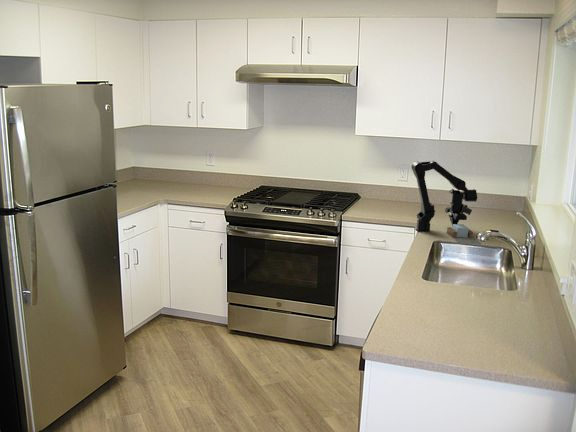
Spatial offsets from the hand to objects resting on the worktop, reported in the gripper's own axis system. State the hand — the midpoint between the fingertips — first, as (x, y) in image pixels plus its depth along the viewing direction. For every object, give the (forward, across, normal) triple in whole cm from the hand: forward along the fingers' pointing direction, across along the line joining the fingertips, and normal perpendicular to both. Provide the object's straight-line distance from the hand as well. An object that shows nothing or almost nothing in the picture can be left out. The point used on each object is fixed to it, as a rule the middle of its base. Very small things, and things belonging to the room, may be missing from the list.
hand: (454, 228), depth 335 cm
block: (+1, -9, 0) cm, 9 cm away
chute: (+2, -9, 0) cm, 9 cm away
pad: (+2, -20, 0) cm, 20 cm away
